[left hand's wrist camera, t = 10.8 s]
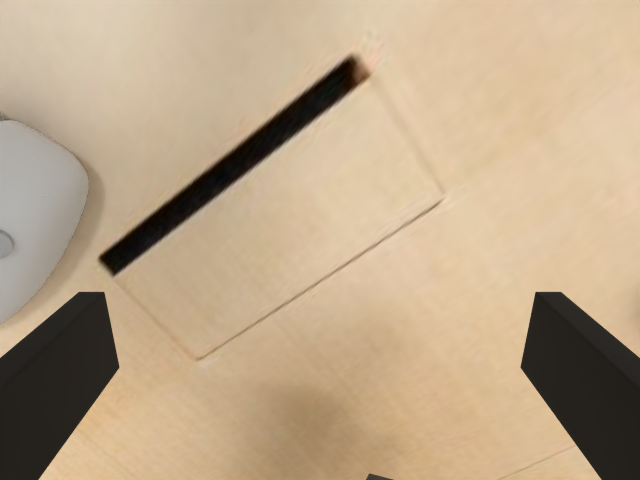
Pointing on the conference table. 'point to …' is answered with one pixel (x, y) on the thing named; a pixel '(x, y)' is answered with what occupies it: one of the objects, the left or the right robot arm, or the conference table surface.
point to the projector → (34, 210)
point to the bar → (376, 477)
